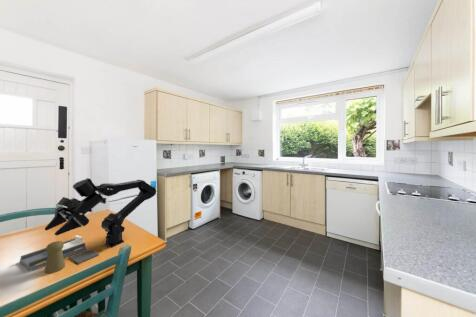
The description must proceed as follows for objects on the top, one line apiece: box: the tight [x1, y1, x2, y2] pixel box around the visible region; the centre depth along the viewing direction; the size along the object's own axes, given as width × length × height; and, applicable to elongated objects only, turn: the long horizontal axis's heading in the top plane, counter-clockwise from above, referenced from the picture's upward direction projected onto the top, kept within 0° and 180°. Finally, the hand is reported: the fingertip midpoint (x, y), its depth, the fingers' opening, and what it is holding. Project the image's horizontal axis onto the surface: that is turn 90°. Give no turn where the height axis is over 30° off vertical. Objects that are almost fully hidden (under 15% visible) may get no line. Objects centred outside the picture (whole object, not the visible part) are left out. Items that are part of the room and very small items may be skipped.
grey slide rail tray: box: [19, 237, 87, 272], centre depth 86 cm, size 19×12×3 cm, turn 153°
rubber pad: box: [69, 249, 100, 265], centre depth 86 cm, size 8×8×1 cm
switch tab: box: [62, 234, 84, 250], centre depth 90 cm, size 10×7×3 cm
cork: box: [44, 240, 66, 274], centre depth 77 cm, size 6×6×11 cm
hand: (50, 232), depth 76 cm, fingers open, 9 cm apart
